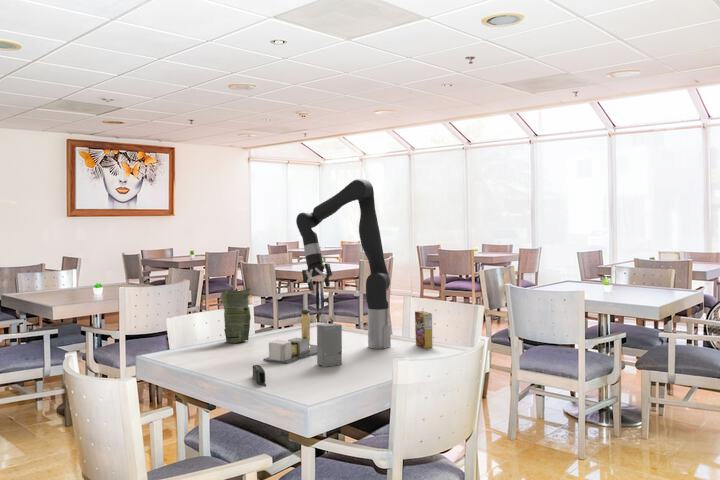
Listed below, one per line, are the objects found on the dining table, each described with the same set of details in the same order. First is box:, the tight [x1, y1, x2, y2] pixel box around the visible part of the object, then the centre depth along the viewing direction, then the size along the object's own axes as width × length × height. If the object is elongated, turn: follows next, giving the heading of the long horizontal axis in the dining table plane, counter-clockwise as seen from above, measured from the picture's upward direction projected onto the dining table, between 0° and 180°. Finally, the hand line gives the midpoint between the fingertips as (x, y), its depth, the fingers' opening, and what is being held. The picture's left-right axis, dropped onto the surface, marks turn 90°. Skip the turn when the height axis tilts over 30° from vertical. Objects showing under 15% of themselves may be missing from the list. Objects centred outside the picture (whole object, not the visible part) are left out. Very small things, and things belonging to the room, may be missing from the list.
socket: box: [268, 339, 291, 361], centre depth 243 cm, size 6×7×7 cm
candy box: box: [414, 310, 433, 349], centre depth 269 cm, size 9×4×15 cm, turn 23°
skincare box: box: [316, 323, 343, 368], centre depth 236 cm, size 8×7×16 cm
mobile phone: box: [252, 364, 267, 387], centre depth 212 cm, size 5×3×15 cm
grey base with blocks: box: [262, 337, 317, 365], centre depth 254 cm, size 32×12×6 cm, turn 150°
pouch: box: [220, 288, 252, 344], centre depth 284 cm, size 11×12×25 cm
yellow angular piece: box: [291, 308, 311, 356], centre depth 251 cm, size 20×4×17 cm, turn 149°
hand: (319, 288), depth 276 cm, fingers open, 8 cm apart
